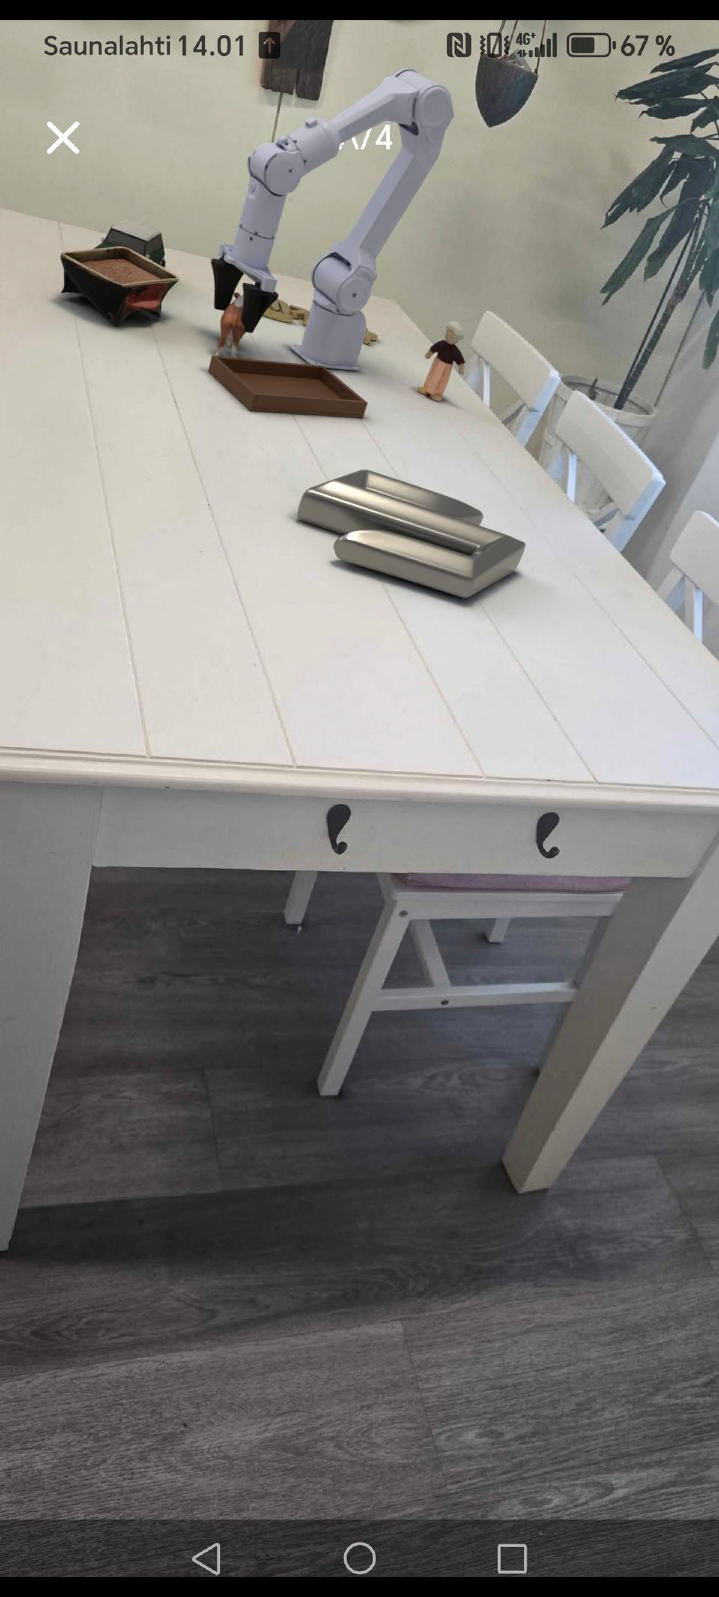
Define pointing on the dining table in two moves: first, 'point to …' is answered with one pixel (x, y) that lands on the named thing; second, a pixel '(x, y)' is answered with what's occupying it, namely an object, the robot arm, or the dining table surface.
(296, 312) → the lettering
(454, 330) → the grandmother figurine
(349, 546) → the emblem
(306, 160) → the robot arm
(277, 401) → the walnut tray
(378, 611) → the dining table surface
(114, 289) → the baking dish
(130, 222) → the miniature car
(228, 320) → the bull figurine
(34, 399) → the dining table surface
